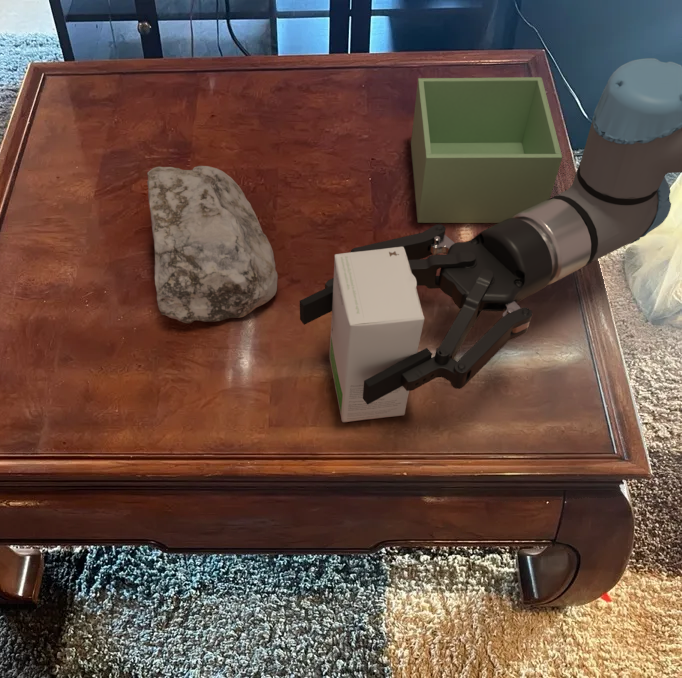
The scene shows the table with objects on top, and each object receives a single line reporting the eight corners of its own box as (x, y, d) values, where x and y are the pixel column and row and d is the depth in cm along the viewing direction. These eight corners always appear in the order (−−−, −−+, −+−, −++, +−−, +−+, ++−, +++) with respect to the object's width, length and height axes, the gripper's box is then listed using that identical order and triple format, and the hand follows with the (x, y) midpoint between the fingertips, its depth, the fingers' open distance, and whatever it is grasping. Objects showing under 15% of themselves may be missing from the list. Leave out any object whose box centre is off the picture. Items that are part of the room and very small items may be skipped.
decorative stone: (136, 200, 95) (141, 139, 87) (247, 199, 99) (262, 140, 90) (154, 342, 86) (161, 289, 78) (275, 335, 89) (295, 284, 81)
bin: (542, 223, 92) (562, 157, 85) (417, 223, 93) (426, 157, 86) (525, 143, 101) (541, 77, 94) (410, 143, 102) (418, 78, 94)
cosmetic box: (328, 356, 82) (330, 249, 70) (393, 349, 82) (405, 241, 70) (341, 426, 77) (345, 324, 65) (410, 418, 77) (427, 315, 65)
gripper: (601, 354, 75) (403, 467, 68) (450, 212, 87) (271, 297, 80) (625, 301, 69) (411, 420, 62) (460, 157, 81) (267, 244, 74)
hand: (332, 351), depth 71 cm, fingers closed on cosmetic box, 10 cm apart
